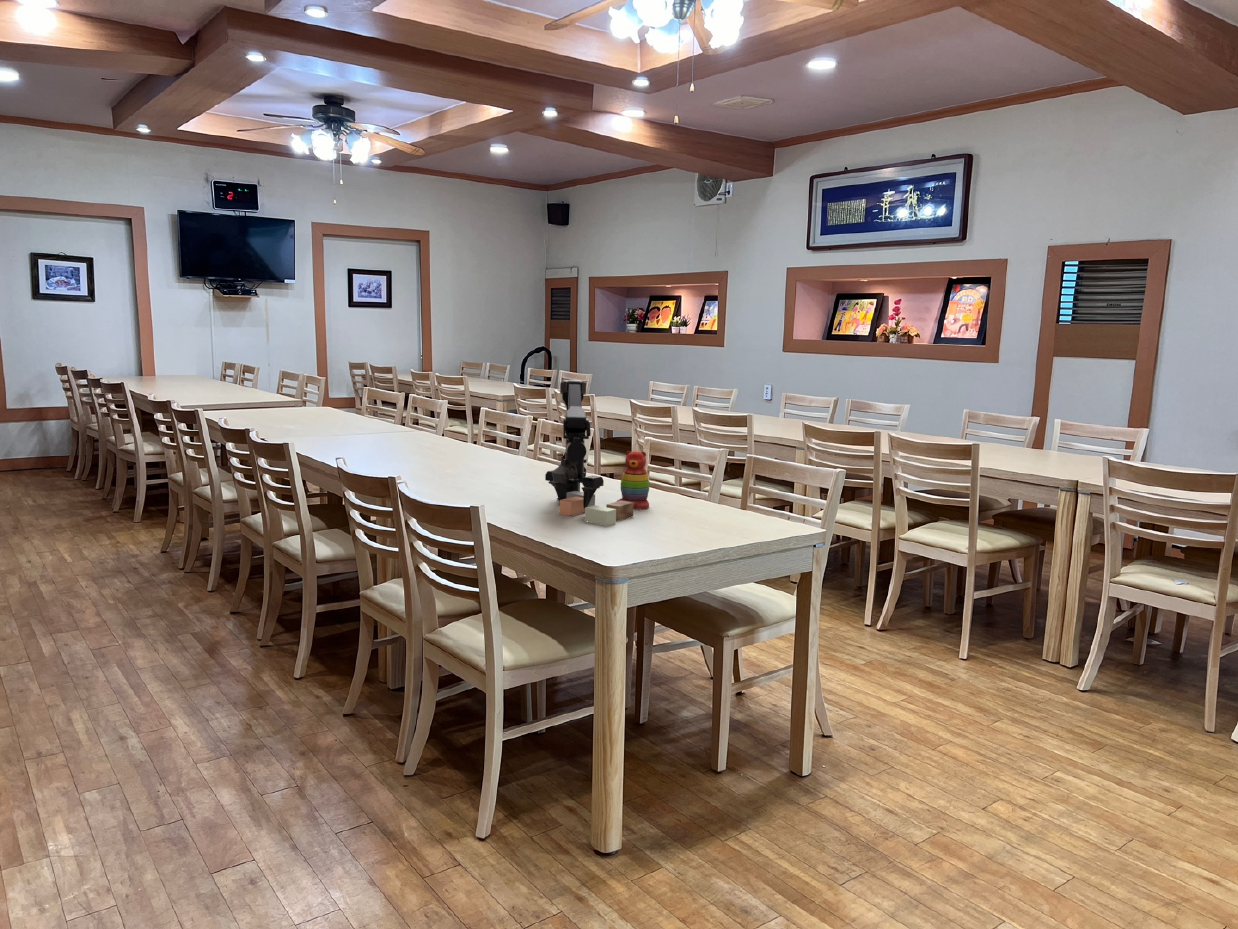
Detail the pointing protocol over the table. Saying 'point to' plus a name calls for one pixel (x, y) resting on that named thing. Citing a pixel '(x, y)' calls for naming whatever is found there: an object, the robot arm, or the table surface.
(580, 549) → the table surface
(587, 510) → the sage block
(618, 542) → the table surface
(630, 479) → the stacking bear
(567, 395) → the robot arm
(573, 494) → the slate block
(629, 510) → the walnut block
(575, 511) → the terracotta block
